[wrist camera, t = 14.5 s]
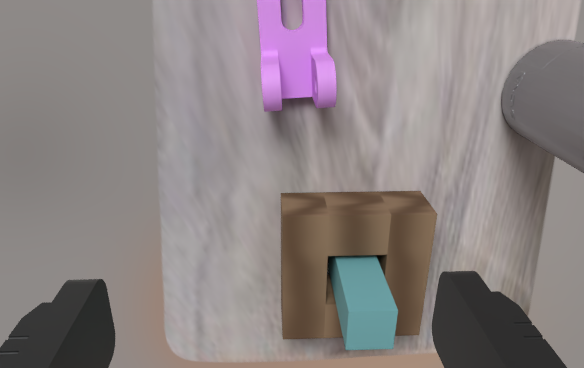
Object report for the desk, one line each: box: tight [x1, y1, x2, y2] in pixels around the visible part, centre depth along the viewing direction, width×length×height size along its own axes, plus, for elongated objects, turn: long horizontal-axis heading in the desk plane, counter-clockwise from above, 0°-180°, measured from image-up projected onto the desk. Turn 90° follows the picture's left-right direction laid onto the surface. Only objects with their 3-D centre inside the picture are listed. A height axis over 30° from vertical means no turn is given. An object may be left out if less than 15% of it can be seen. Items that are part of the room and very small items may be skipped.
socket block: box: [281, 191, 437, 339], centre depth 46 cm, size 14×14×5 cm
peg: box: [328, 255, 398, 350], centre depth 43 cm, size 4×4×12 cm
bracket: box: [257, 0, 336, 112], centre depth 36 cm, size 13×6×7 cm, turn 3°
